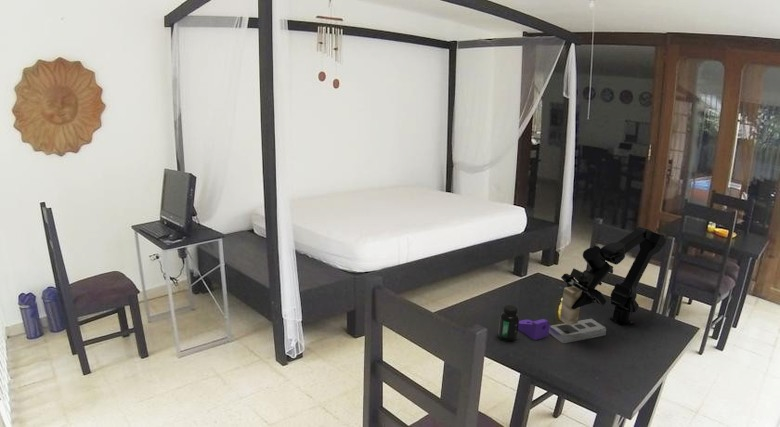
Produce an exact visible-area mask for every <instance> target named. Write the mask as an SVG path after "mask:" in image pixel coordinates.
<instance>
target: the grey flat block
mask: <svg viewBox="0 0 780 427" xmlns="http://www.w3.org/2000/svg"><path fill="white" fill-rule="evenodd" d="M566 332H568V333H566ZM606 334H607V327H605V326H604V325H603V324H601V323H599V322H597V321H596V320H594V319H593V318H589V319H588V318H587V319H580V320H578V323H577V324H571V325H567V324H565V323H564V322H563V323H560V324H559V323H557V324H553V325H550V326H549V333H548V335H550V336H552V337H553V338H554V339H556V340H557V341H558V342H560V343H561V344H567V343H572V342H577V341H583V340H588V339H592V338H599V337H603V336H606Z"/></svg>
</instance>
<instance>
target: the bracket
mask: <svg viewBox="0 0 780 427" xmlns="http://www.w3.org/2000/svg"><path fill="white" fill-rule="evenodd" d="M549 326H551V324H550V322H549V321H548V320H547V319H545V318H541V319H538V320H534V321H533V320H532V319H522V320H519V325H518V331H520V332H521V333H523V334H525V335H526V336H527V337H529V338H530V339H532V340H533V341H536V340H540V339H543V338H547V337H549Z"/></svg>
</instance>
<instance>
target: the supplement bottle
mask: <svg viewBox="0 0 780 427" xmlns="http://www.w3.org/2000/svg"><path fill="white" fill-rule="evenodd" d="M519 321H520V317H519V314H518V307H517V306H515V305H511V304H508V305H507V304H506V305H504V306H503V311H502V313H501V314H500V317H499V325H498V338H499V339H500V340H502V341H504V342H514V341H516V340H518V332H519V330H518V325H519Z"/></svg>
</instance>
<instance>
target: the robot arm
mask: <svg viewBox="0 0 780 427" xmlns="http://www.w3.org/2000/svg"><path fill="white" fill-rule="evenodd" d="M666 242H667V239H666V238H665V235H664V234H663V233H659V232H655V231H653V230H650V229H649V228H646V227H642V226H637V227H636V228H634V230H633V231H631V232H630V233H629V234H627V235H626V236H624V237H623V238H621V239H620V240H618V241H616V242H610V243H608V244H605V245H604V246H602V247H600V246H597V245H595V244H594V245H593V246H592V247H588V248H587V249H585V250H584V251H583V252H582V258H583V259H584V261H585V262H586V264H587V265H588V266H589V269H588V270H587V269H585V270H583V271H581V270H579V269H576V268H573V269H572V270H571V272H570V274H569V273H563V275H562V276H560V278H561V279H562V281H563V282H564V283H565V284H566V287H572V286H574V287H576V288H578V289H579V290H581V291H582V293H581V296H580V298H579V299H578V300H577V301H576V302H575V303H574V305H573V306H572V309H573V310H574V309H576V308H579V307H580V308H582V307H584V306H587V305H590V304H595V303H597V304H598V305H600V306H601V307H603V306H604V305H605V304H606V303H607V298H606V296H605V295H604V294H603V293H602V292H601V291H600V290H598V289H597V286H600V287H601V286H602V285H603V282H602V281H603V280H604V279H605V278H606V276H607V275H608V274H611V275H612V274H614V266H613V265H618V264H620V263H622V261H623V260H624V259H625V258H626V254H627V253H628V252H629V251H631V250H633V249H634V248H635V247H637V246H638V245H639V251H638V252H637V254H636V256H635V259H634V260H633V263H632V265H631V266H630V268H629V270H628V272H627V274H626V276H625V277H624V280H623V282H621V283H619V282H618V283H615V285H614V287H613V290H611V293H610V304H611V305H613V306H614V310H613V315H612V316H609V320H611V321H613V322H615V323H616V324H618V325H620V326H627V325H633V324H634V323H635V322H634V321H632V315H633V313H636V311H638V309H639V303H638V302H637V300H636V299H637V287H638V285H639V282H640V280H641V279H642V276H643V275H644V273H645V271H646V269H647V267H648V265H649V263H650V261H651V259H652V257H653V256H655V254H658V253H659V252H660V251H661V250H662V248H663V247H664V246H665V245H666ZM595 301H596V302H595Z"/></svg>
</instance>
